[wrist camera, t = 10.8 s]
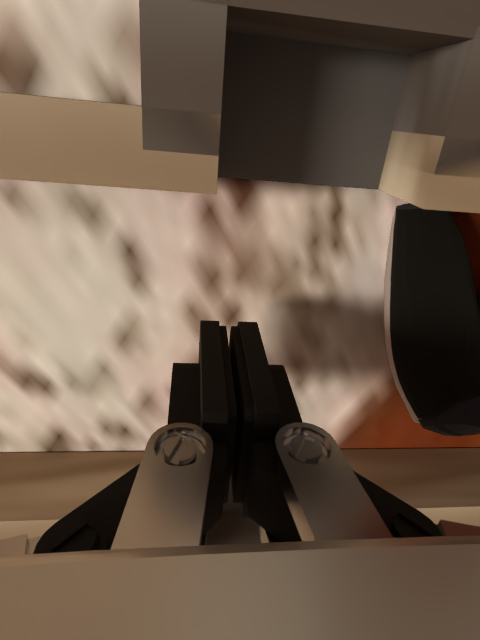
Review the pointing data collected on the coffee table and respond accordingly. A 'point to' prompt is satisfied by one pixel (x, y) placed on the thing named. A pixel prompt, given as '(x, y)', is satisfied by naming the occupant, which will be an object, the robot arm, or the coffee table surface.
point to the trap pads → (306, 114)
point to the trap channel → (201, 177)
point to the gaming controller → (433, 321)
